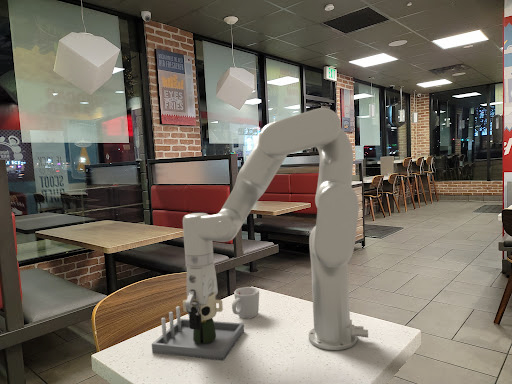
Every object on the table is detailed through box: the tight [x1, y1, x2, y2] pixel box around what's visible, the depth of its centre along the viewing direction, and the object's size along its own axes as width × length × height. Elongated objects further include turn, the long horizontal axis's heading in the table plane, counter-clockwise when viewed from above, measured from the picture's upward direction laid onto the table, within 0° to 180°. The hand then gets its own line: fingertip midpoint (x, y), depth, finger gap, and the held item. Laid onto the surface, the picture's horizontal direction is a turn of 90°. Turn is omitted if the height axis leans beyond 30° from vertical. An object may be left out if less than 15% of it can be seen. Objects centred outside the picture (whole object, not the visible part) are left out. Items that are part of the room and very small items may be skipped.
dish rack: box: [151, 305, 245, 362], centre depth 101 cm, size 20×16×8 cm
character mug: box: [182, 292, 224, 343], centre depth 100 cm, size 11×7×13 cm, turn 84°
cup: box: [231, 286, 260, 319], centre depth 117 cm, size 11×8×8 cm
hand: (203, 321), depth 101 cm, fingers open, 9 cm apart
